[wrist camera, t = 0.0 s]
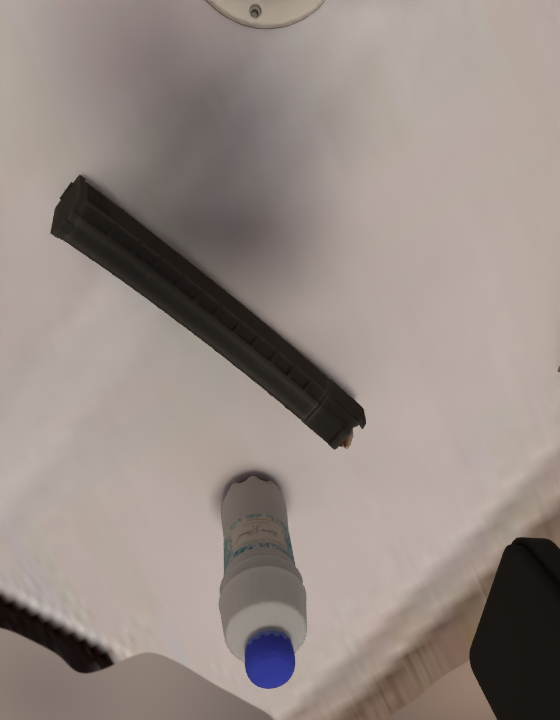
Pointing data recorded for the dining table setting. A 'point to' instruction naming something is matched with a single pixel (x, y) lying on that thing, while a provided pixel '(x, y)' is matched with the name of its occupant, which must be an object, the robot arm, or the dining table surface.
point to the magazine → (204, 310)
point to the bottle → (261, 583)
